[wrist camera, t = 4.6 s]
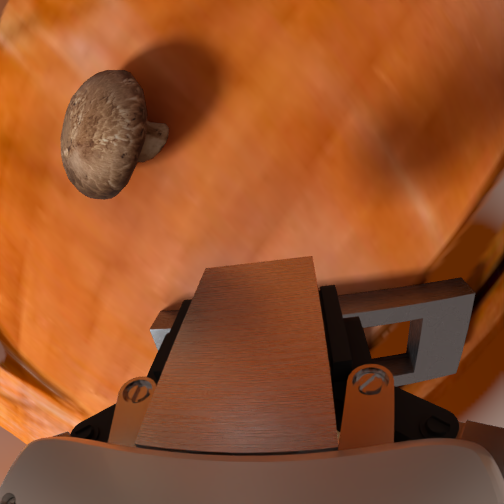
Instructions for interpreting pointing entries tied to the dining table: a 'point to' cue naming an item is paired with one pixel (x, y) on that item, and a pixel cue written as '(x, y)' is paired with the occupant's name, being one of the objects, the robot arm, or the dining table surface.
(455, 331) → the rail
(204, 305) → the grey rectangular block
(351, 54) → the dining table surface
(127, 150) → the mushroom
